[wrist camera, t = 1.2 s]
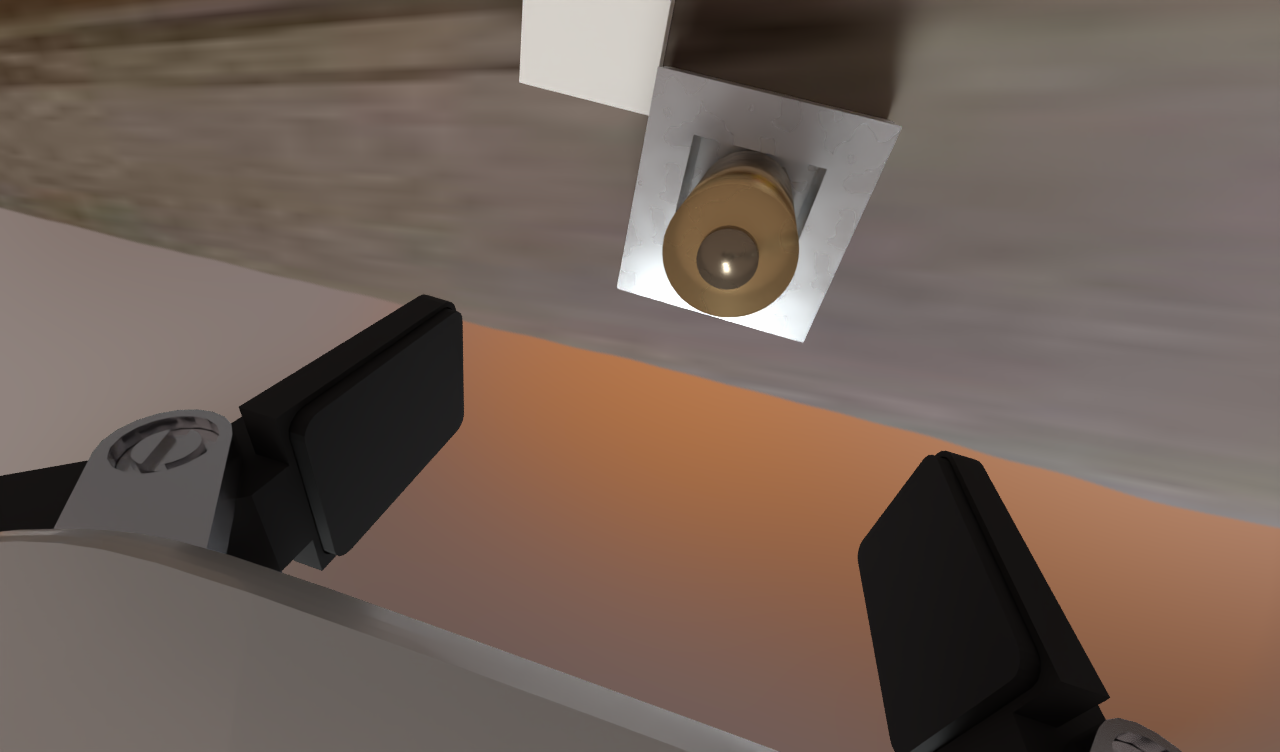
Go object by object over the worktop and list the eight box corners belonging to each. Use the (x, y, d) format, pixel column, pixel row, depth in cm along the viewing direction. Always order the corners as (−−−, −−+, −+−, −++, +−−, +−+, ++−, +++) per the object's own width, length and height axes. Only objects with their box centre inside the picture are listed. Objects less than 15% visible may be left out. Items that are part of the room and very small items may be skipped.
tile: (687, -67, 23) (684, -72, 22) (653, 114, 28) (649, 115, 27) (536, -100, 24) (527, -106, 23) (526, 82, 28) (519, 82, 28)
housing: (887, 119, 25) (914, 129, 20) (806, 303, 31) (811, 345, 26) (671, 66, 26) (647, 63, 21) (634, 254, 32) (608, 285, 28)
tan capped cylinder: (807, 164, 25) (823, 209, 17) (772, 259, 28) (770, 339, 20) (710, 139, 26) (677, 170, 17) (686, 235, 29) (647, 302, 20)
